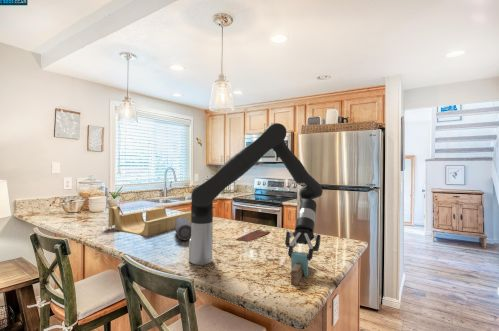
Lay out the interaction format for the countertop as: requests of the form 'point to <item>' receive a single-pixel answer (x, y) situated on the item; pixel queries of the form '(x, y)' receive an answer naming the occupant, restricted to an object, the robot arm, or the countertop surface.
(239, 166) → the robot arm
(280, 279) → the countertop surface
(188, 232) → the bluetooth speaker
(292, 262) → the teal notched bridge block
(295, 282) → the walnut slotted plate
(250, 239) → the wooden tablet
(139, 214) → the skate ramp
